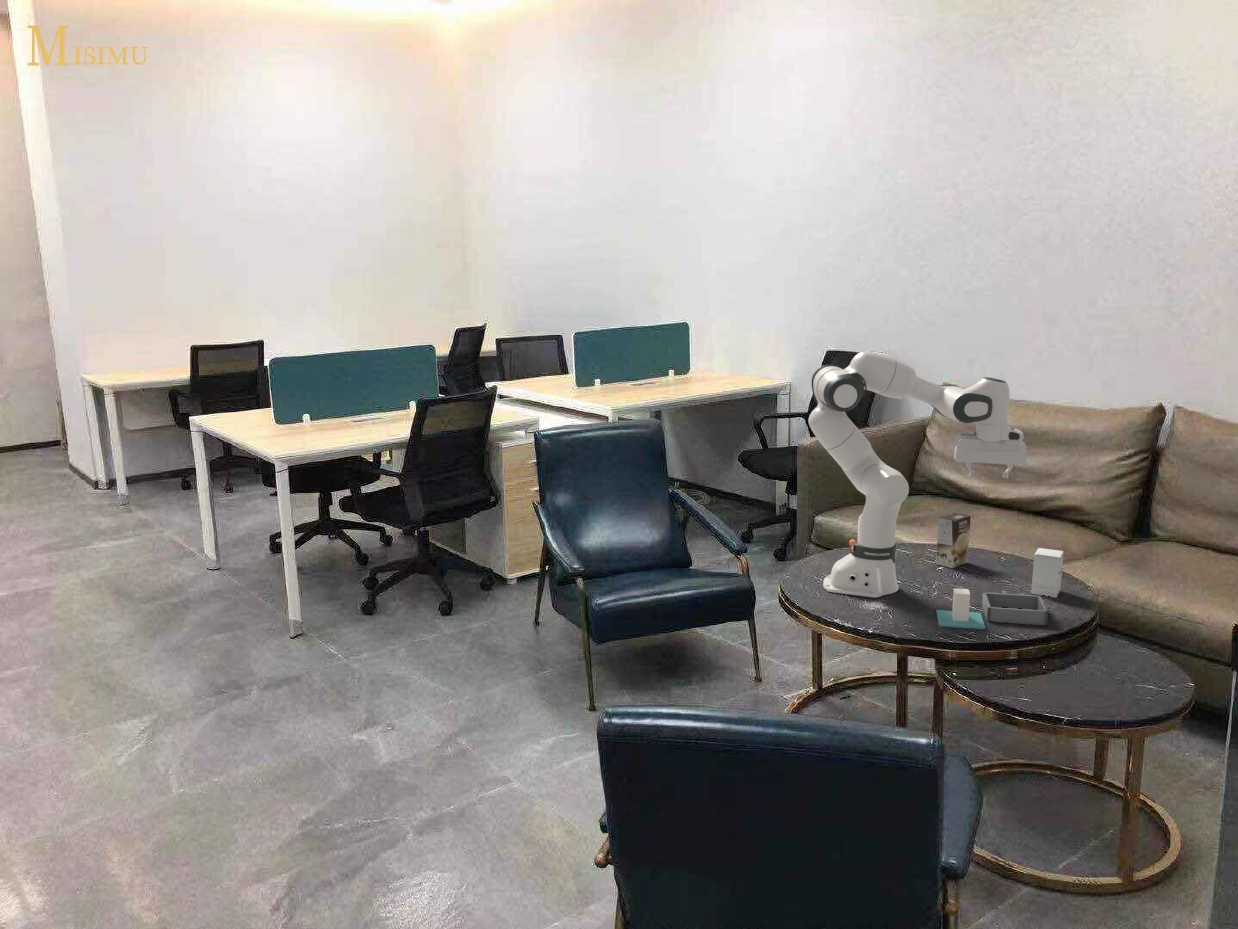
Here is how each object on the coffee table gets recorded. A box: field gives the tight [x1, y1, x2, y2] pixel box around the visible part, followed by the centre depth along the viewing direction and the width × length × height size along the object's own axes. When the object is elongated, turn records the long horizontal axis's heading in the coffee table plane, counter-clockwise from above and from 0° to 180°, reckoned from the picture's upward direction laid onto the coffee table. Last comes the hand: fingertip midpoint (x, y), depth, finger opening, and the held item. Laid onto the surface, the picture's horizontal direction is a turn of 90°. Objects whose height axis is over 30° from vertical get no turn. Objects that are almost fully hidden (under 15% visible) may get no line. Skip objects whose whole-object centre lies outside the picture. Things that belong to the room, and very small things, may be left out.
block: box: [951, 587, 971, 621], centre depth 276 cm, size 4×4×8 cm
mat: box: [935, 609, 986, 630], centre depth 277 cm, size 12×11×1 cm
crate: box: [981, 592, 1049, 626], centre depth 280 cm, size 16×13×4 cm
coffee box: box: [935, 512, 971, 569], centre depth 323 cm, size 9×6×16 cm
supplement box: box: [1030, 547, 1065, 599], centre depth 296 cm, size 7×7×13 cm
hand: (988, 477), depth 297 cm, fingers open, 8 cm apart
